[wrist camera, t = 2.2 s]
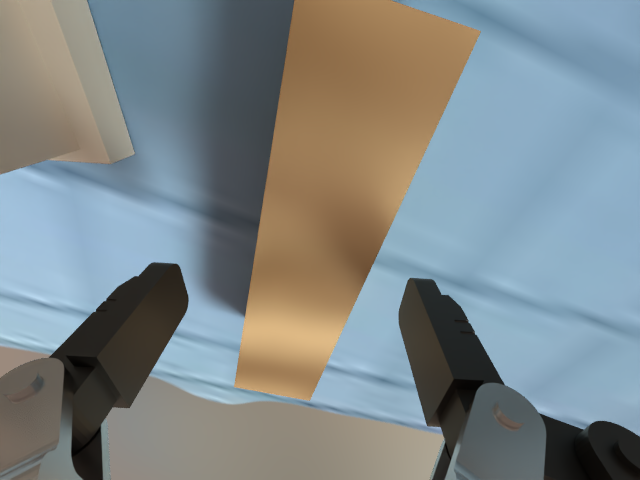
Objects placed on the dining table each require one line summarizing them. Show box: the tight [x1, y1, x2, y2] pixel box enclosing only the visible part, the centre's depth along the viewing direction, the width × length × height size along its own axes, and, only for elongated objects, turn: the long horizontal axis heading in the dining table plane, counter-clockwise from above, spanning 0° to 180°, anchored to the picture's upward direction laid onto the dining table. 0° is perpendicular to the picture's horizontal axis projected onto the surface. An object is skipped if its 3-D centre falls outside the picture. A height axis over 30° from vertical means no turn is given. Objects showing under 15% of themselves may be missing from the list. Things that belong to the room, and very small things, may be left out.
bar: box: [234, 0, 481, 401], centre depth 12 cm, size 16×4×4 cm, turn 165°
